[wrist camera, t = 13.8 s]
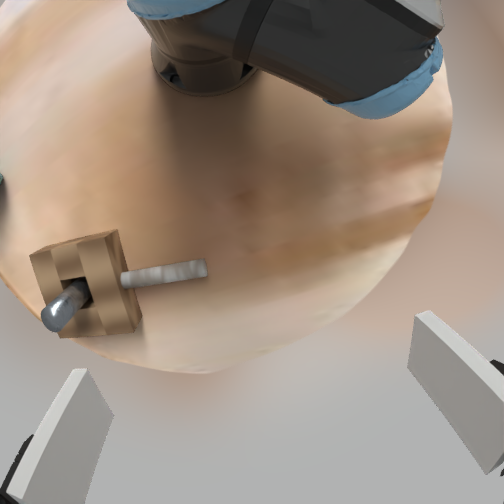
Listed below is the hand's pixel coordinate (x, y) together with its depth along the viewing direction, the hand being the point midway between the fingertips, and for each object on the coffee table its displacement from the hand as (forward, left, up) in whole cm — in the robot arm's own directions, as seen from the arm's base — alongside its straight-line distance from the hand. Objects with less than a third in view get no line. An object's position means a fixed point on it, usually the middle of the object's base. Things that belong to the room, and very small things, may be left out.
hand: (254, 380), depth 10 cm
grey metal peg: (+5, -24, -32) cm, 40 cm away
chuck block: (+5, -18, -32) cm, 37 cm away
